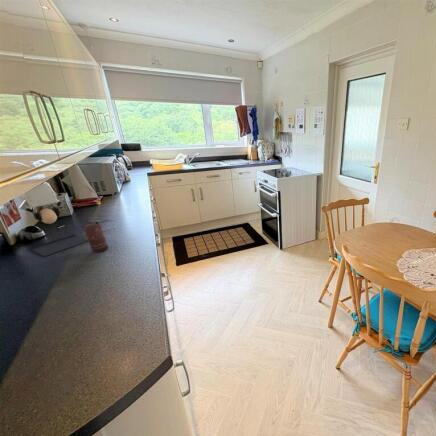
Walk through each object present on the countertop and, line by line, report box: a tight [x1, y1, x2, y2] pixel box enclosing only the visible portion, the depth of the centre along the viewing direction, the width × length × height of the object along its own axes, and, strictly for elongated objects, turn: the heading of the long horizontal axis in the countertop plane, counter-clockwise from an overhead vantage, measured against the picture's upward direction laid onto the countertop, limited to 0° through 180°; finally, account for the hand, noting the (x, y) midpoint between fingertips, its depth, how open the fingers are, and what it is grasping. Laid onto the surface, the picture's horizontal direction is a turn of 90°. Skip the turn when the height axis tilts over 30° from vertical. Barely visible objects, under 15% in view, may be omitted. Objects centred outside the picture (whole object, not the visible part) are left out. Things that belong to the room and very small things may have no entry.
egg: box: [39, 208, 58, 225], centre depth 111 cm, size 6×6×8 cm
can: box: [83, 221, 109, 254], centre depth 111 cm, size 6×6×14 cm
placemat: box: [28, 234, 89, 258], centre depth 118 cm, size 18×16×1 cm
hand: (48, 217), depth 111 cm, fingers closed on egg, 5 cm apart
